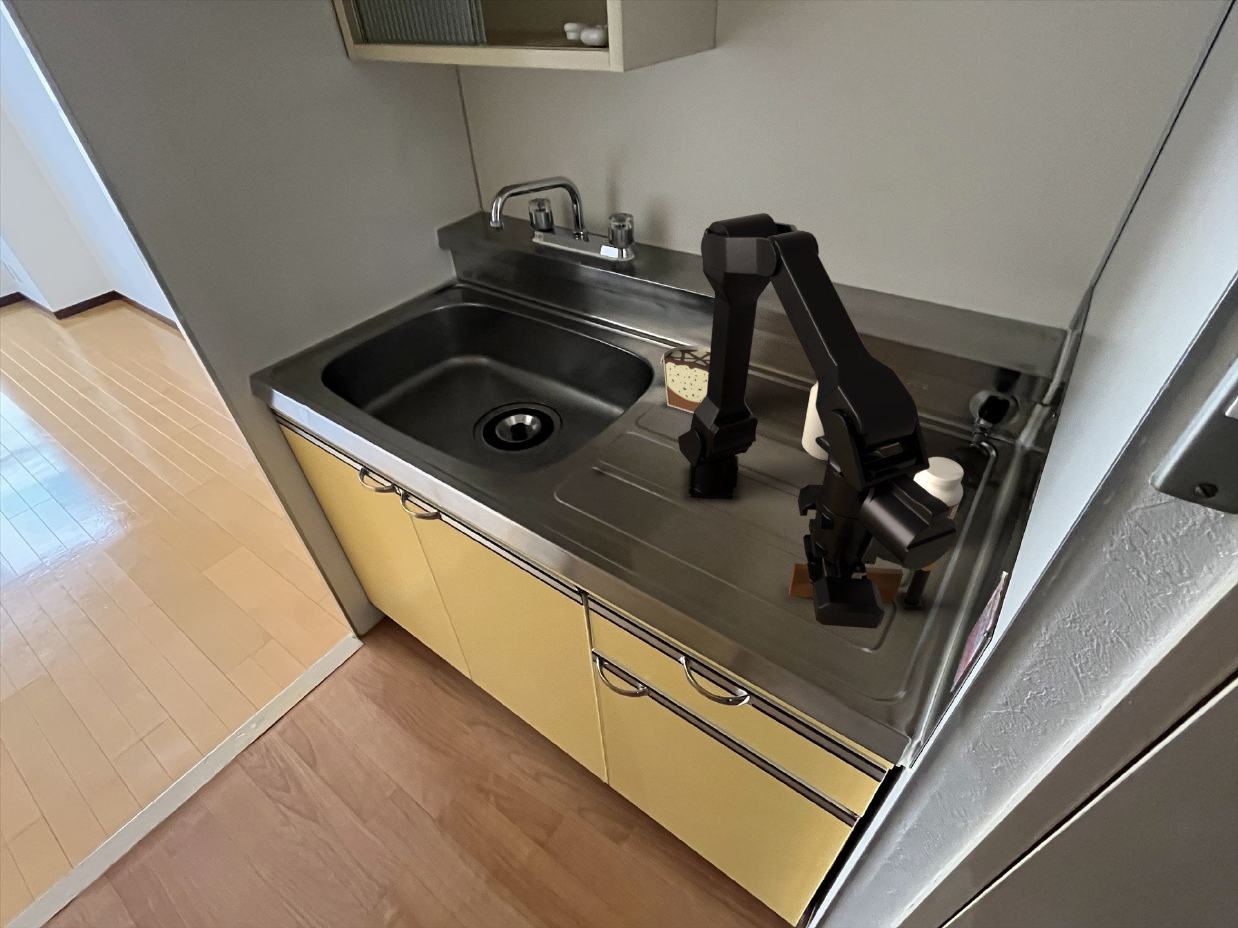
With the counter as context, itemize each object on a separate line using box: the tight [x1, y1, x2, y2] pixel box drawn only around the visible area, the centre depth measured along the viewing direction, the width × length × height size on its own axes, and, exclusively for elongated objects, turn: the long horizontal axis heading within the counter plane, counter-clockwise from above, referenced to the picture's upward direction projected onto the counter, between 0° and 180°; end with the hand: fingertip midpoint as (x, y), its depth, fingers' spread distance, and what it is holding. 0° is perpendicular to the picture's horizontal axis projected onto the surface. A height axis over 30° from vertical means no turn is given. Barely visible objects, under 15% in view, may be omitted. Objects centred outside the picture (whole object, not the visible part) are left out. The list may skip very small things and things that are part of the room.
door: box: [788, 562, 904, 603], centre depth 76 cm, size 12×2×5 cm, turn 84°
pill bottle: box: [914, 456, 965, 520], centre depth 83 cm, size 6×6×11 cm
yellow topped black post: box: [899, 561, 937, 611], centre depth 74 cm, size 2×2×8 cm
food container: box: [660, 344, 711, 414], centre depth 110 cm, size 12×6×10 cm, turn 58°
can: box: [801, 380, 828, 462], centre depth 98 cm, size 8×8×12 cm
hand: (824, 600), depth 74 cm, fingers closed
